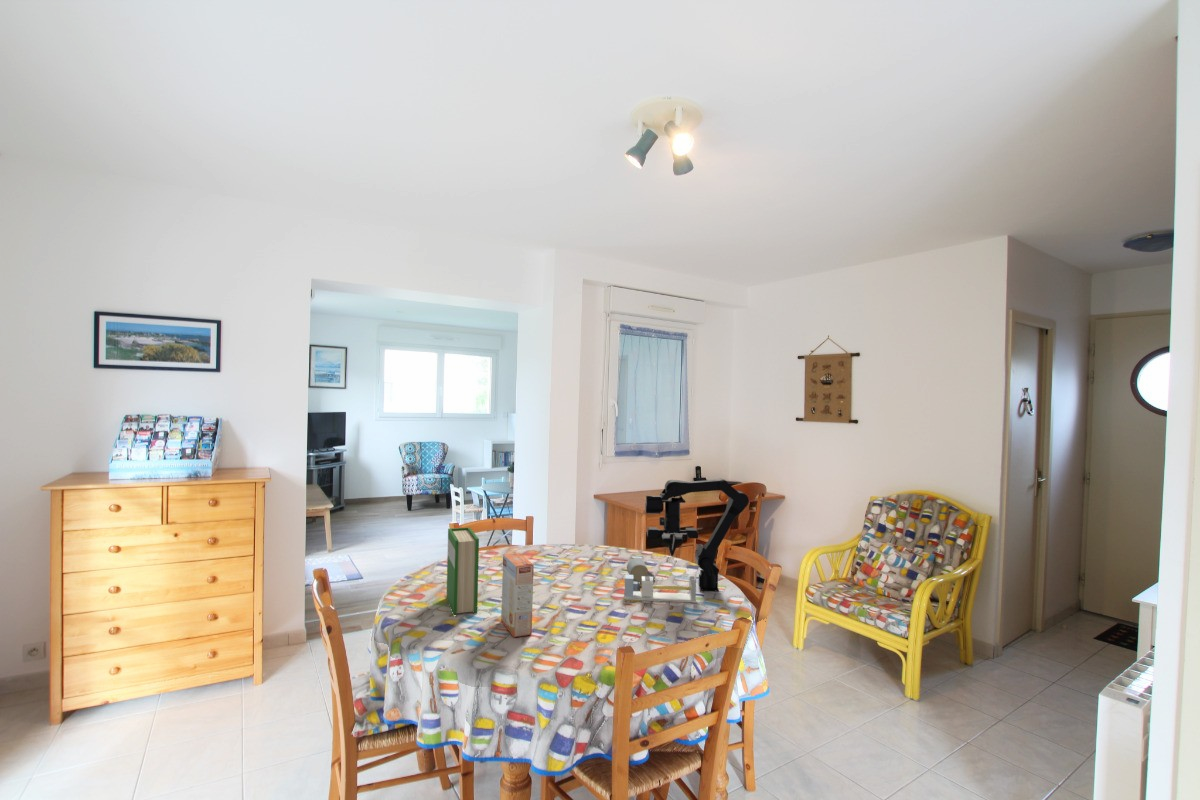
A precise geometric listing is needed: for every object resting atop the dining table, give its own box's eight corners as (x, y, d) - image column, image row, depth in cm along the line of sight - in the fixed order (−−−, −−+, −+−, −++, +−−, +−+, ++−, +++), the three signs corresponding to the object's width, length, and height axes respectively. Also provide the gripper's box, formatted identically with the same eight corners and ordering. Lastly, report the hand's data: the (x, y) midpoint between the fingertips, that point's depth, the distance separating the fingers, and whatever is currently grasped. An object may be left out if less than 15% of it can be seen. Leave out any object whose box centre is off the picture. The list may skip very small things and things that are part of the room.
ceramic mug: (630, 583, 207) (630, 563, 207) (626, 576, 215) (627, 557, 215) (657, 583, 208) (657, 563, 208) (652, 576, 216) (653, 557, 216)
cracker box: (533, 635, 158) (534, 563, 159) (513, 638, 156) (514, 566, 156) (519, 617, 171) (520, 551, 171) (500, 620, 169) (502, 553, 169)
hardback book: (477, 613, 174) (478, 538, 174) (453, 616, 171) (455, 540, 171) (468, 595, 190) (469, 527, 191) (446, 597, 187) (448, 528, 188)
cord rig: (694, 595, 195) (694, 574, 195) (696, 602, 188) (696, 581, 188) (624, 592, 196) (625, 572, 196) (624, 599, 189) (624, 578, 189)
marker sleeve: (652, 591, 195) (652, 576, 195) (653, 596, 190) (653, 580, 190) (641, 591, 195) (641, 576, 195) (641, 596, 190) (641, 580, 190)
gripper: (694, 510, 211) (693, 550, 211) (646, 509, 212) (645, 549, 212) (698, 516, 200) (698, 558, 200) (648, 515, 201) (647, 557, 200)
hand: (671, 555), depth 203 cm, fingers closed
